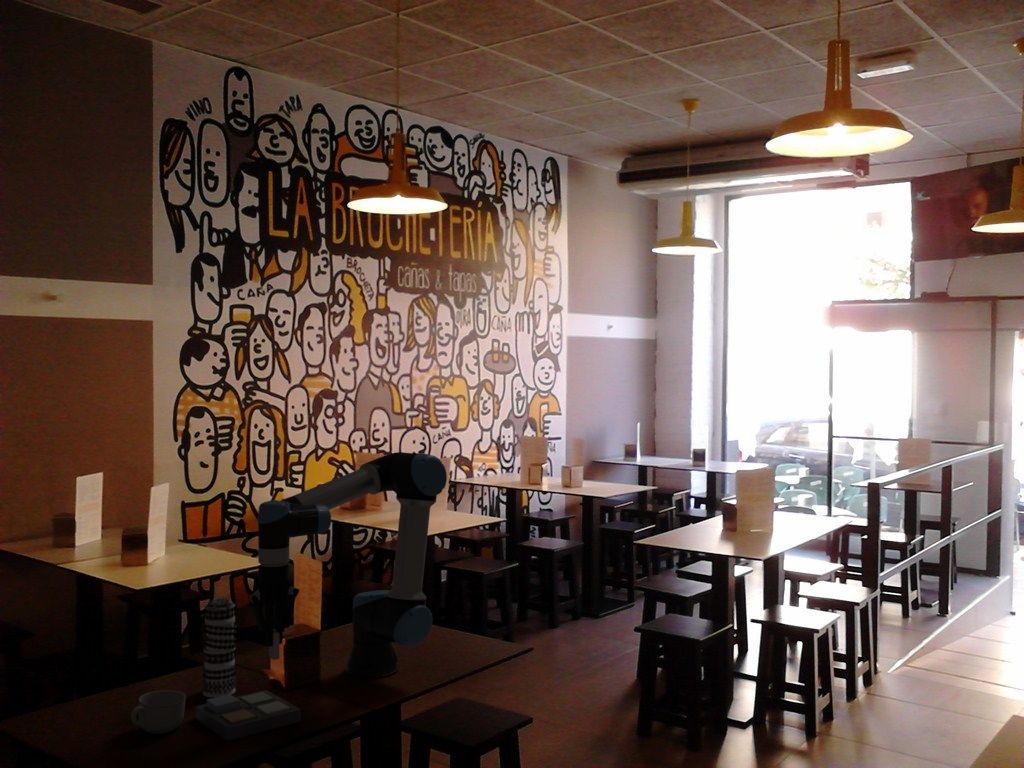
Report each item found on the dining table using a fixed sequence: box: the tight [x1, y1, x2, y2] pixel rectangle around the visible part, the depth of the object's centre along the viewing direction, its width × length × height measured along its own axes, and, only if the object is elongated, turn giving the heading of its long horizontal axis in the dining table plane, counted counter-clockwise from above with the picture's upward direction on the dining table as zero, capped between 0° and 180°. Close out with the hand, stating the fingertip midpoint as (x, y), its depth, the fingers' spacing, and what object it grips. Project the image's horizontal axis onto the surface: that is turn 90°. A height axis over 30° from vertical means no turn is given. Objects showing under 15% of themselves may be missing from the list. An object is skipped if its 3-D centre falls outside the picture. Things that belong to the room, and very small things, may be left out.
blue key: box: [206, 694, 240, 714], centre depth 221 cm, size 6×6×3 cm
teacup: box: [130, 689, 187, 735], centre depth 213 cm, size 14×11×8 cm
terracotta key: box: [222, 710, 256, 725], centre depth 215 cm, size 6×6×3 cm
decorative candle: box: [201, 598, 238, 699], centre depth 241 cm, size 9×9×25 cm
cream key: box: [256, 701, 290, 716], centre depth 220 cm, size 6×6×3 cm
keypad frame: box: [195, 689, 302, 742], centre depth 221 cm, size 19×19×3 cm
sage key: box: [241, 692, 273, 706], centre depth 227 cm, size 6×6×3 cm
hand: (274, 658), depth 221 cm, fingers closed
